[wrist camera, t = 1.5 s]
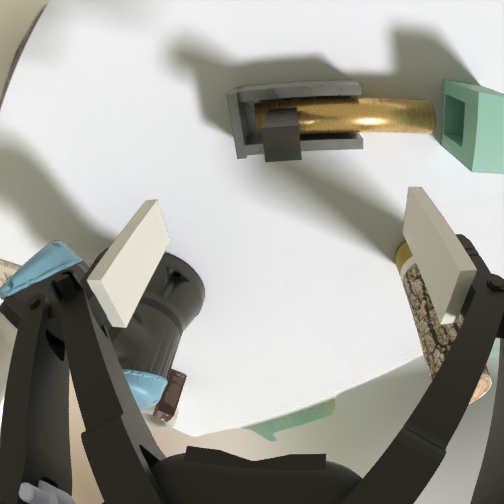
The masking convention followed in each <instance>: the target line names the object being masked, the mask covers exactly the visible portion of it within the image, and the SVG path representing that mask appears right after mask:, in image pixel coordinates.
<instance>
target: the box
mask: <svg viewBox="0 0 504 504" xmlns="http://www.w3.org/2000/svg"><path fill="white" fill-rule="evenodd" d="M186 377H187V376H186V375H185V374H182V373H180V372H178V371H175V370H171V371H170V373H169V376H168V380H167V385H166V386H165V388H164V391H163V393H162V396H161V398H160V400H159V402H158V403H157V404H156V407H155V409H154V412H153V415H152V416H153V417H156V418H158V419H160V420H163V421H165V422H168V421H169V420H171V418H173V417H174V414H175V411H176V408H177V405H178V402H179V399H180V395H181V392H182V389H183V386H184V383H185V380H186Z"/></svg>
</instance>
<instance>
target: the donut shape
mask: <svg viewBox="0 0 504 504" xmlns="http://www.w3.org/2000/svg"><path fill="white" fill-rule="evenodd" d="M155 407H156V405H154V406H153V407H150V408H146V409H140V412H141V414H142V416H143V418H144V420H145V422H146V424H147V425H149V426H152V427H157V428H171V427H173V426H174V425H175V422H176V418H177V415H178V408H176V411H175V414H174V417H173V418H171V420H169V421H168V422H165V421H163V420H160V419H158V418H156V417H153V416H152V415H153V412H154V409H155Z"/></svg>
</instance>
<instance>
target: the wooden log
mask: <svg viewBox="0 0 504 504" xmlns="http://www.w3.org/2000/svg"><path fill="white" fill-rule="evenodd" d="M395 262H396V266H397V268H398V271H399V274H400V277H401V280H402V283H403V286H404V289H405V292H406V295H407V298H408V302H409V305H410V308H411V311H412V314H413V318H414V321H415V324H416V328H417V331H418V335H419V338H420V342H421V346H422V350H423V353H424V357H425V361H426V365H427V369H428V373H429V378H430V382H432V381H433V379H434V377H435V375H436V374H437V372H438V370H439V368H440V366H441V365H442V363H443V361H444V359H445V357H446V355H447V353H448V352H449V350H450V348H451V346H452V344H453V342H454V340H455V338H456V336H457V334H458V331H459V329H460V327H461V325H462V323H463V321H464V319H463V316H462V314H461V313H460V315H459V317H458V320H457V322H456V323H450V324H441V325H440V322H439V319H438V317H437V314H436V311H435V308H434V306H433V303H432V300H431V298H430V295H429V293H428V290H427V288H426V285H425V283H424V280H423V278H422V275H421V273H420V271H419V268H418V266H417V264H416V261H415V259H414V257H413V255H412V252H411V250H410V248H409V246H408V244H407V241H406V242H404V243H403V244H402V245H401V246H400V247H399V249H398V251H397V253H396V256H395ZM491 384H492V382H491V378H490V375H489V372H488V369H487V366H486V365H485V368H484V370H483V373H482V375H481V378H480V380H479V382H478V385H477V387H476V389H475V392H474V394H473V396H472V398H471V400H470V402H469V404H470V403H471V402H473V401H475V400H477V399H478V398H480V397H481V396H482V395H484V394H485V393H486V392H487V391H488V389H489V388H490V386H491Z"/></svg>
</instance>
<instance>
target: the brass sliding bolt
mask: <svg viewBox="0 0 504 504" xmlns="http://www.w3.org/2000/svg"><path fill="white" fill-rule="evenodd" d="M255 122H256V129H257V133H258V136H259V137H262V138H263V146H264V154H265V161H266V162H274V161H289V160H302V158H301V145H300V134H314V133H344V132H392V133H421V134H432V133H433V131H434V128H435V122H436V117H435V110H434V107H433V105H432V103H431V102H430V101H426V100H413V99H395V98H314V99H296V100H282V101H270V102H259V103H255Z"/></svg>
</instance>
